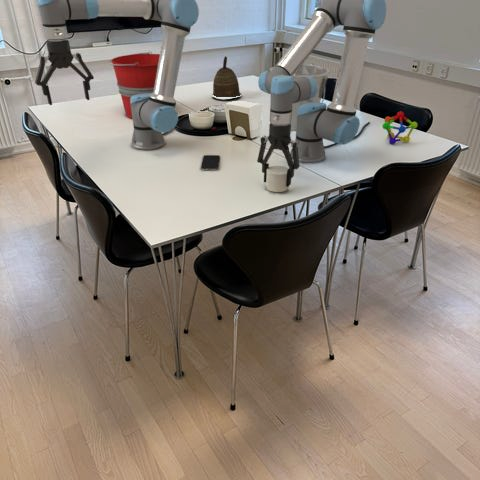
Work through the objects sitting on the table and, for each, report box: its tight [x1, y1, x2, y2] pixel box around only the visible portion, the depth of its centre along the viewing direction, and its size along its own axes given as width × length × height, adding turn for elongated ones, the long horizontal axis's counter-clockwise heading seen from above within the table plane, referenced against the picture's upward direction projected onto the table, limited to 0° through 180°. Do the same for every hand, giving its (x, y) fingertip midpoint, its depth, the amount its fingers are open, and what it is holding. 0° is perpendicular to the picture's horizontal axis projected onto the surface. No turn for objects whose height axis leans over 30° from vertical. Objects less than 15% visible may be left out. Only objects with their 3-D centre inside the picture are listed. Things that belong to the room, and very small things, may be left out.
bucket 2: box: [269, 63, 330, 131], centre depth 226 cm, size 30×30×28 cm
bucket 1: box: [107, 51, 160, 120], centre depth 242 cm, size 35×35×30 cm
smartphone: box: [200, 154, 221, 171], centre depth 188 cm, size 7×1×15 cm
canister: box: [265, 165, 289, 193], centre depth 165 cm, size 8×8×7 cm
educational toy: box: [382, 110, 418, 145], centre depth 207 cm, size 16×13×15 cm
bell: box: [212, 56, 242, 97], centre depth 278 cm, size 19×26×20 cm
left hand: (69, 101), depth 165 cm, fingers open, 13 cm apart
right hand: (277, 182), depth 166 cm, fingers open, 8 cm apart
